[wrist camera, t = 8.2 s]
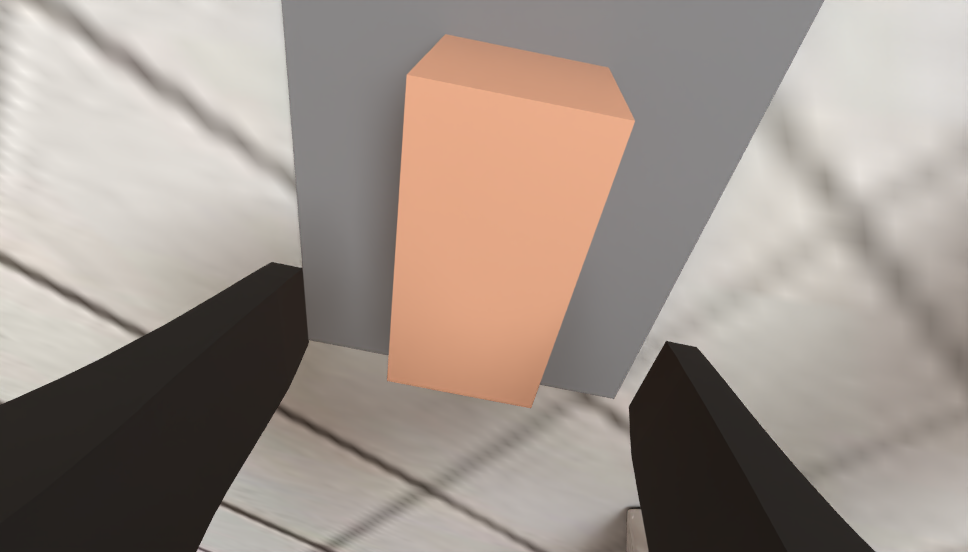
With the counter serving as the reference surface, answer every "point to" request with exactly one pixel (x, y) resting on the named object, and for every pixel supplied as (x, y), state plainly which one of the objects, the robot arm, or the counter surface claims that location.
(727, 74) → the slate mat
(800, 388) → the counter surface
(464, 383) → the terracotta brick
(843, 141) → the counter surface
